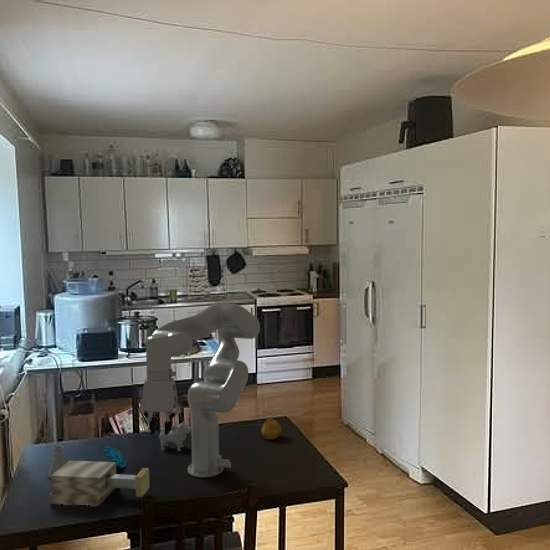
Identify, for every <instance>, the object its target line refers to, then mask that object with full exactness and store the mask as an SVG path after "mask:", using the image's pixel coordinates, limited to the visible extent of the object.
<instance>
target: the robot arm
mask: <svg viewBox="0 0 550 550" xmlns="http://www.w3.org/2000/svg"><path fill="white" fill-rule="evenodd" d="M260 330H261V325H260V321H259V319H258V318H257V316H255V315H254V314H253V313H251V312H250V311H249V310H248V309H246V308H245V307H243V306H242V305H240V304H238V303H225V302H223V303H222V302H217V303H213V304H211V305H210V306H209V305H208V307H206V308H205V309H203V310H201V311H200V312H198V313H196V314H194V315H192V316H187V317H185V318H181V319H177V320H173V321H171V322H168V323H165V324H164V325H162V326H160V327H158V328H157V329H156V330H154V331H153V332H152V334H151V335H150V336H149V335H148V337H147V338H146V340H145V352H146V353H145V355H146V359H145V360H146V363H145V364H146V378H145V379H144V383H143V388H142V389H143V390H142V402H141V404H140V406H139V408H137V410H138V411H137V412H139V414H141V415H143V416H144V417H145V418H146V419H147V421H148V424H149V425H148V427H149V431H150V434H151V435H153V434H154V433H156V432H157V419H156V418H155V417H156V415H155V414H156V413H164V417H165V421H164V425H163V426H164V428H163V429H165V435H167V434H168V433H169V432H170V431H172V429H171V427H172V420H173V419H174V417H176V416H177V415H179V414H181V413H182V408H181V406H180V404H179V402H178V393H177V384H176V381H175V378H174V377H175V376H177V372H176V371H174V370H173V369H172V357H175V356H176V357H178V356H184V355H186V354H188V353H189V352H190V351H191V350H192V349H193V344H194V341H193V340H199V339H204V338H205V339H206V338H207V337H208V336H209V335H212V334H213V333H214V332H216V331H217V338H218V347H217V349H216V350H215V353H214V354H213V356H212V358H211V360H210V361H209V363H208V365H207V367H206V369H205V371H204V378H205V380H206V381H203V380H201V381H196V382H193V383H192V384H191V385H190V387H188V390H187V402H188V406H189V407H188V408H189V411H190V425H191V426H190V427H191V431H190V433H191V437H190V438H191V463H190V464H189V465H188V467H187V474H189V475H191V476H192V477H196V478H211V477H216V476H218V475H220V474H221V473H222V472H224V468H228V469H230V468H232V462H231V461H230V460H229V459H223V458H222V454H220V446H219V445H220V438H219V435H220V434H219V429H220V426H219V418H218V415H217V413H221V414H227V413H229V412H231V411H232V410H233V409H234V407H236V404H237V402H238V400H239V399H240V396H241V395H242V393H243V390H244V389H245V387H246V384H247V383H248V380H249V366H248V365H247V364H246V363H245V362H244V361H242V360H238V359H239V357H240V349H239V346H238V344H237V342H236V339H247V340H249V339H250V340H252V339H255V338H257V336H258V335H259V334H260Z"/></svg>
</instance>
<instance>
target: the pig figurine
mask: <svg viewBox="0 0 550 550" xmlns="http://www.w3.org/2000/svg"><path fill="white" fill-rule="evenodd" d="M190 433H191V426H189V425H187V424H186V421H182V422H181V423H179V424H178V425H177V426H176V425H175V424H173V425H171V431H170V432H169V433H168V434H167V435H165V429H164V428H163V429H161V430H160V433H159V435H158V438H159V440H160V449H161V451H165V450H166V449H165V446H167V447H169V445H168V442H170V443H174V444H175V445H176V448H177V452H182V450H181V448H184V447H185V446H184V443H183V442H184V441H186V439H187V438H188V437H187V435H188V434H190Z"/></svg>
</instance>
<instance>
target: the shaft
mask: <svg viewBox="0 0 550 550" xmlns="http://www.w3.org/2000/svg"><path fill="white" fill-rule="evenodd" d="M106 487H110V488H116V489H131V490H132V489H133V490H134V489H135V497H137V498H143V496H144V495H145V494H146V493H147V492H148V491H149V489H150V468H149V467H142V468H141V470H140V471H139V472H138V473H137V475H136V474H119V473H118V474H117V473H116V474H108V475H107V476H106Z"/></svg>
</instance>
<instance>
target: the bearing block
mask: <svg viewBox="0 0 550 550" xmlns="http://www.w3.org/2000/svg"><path fill="white" fill-rule="evenodd" d="M108 474H117V466H116V462H109V461H95V460H94V461H90V460H89V461H88V460H69V461H67V462H66V464H65V465H64V466H62V467H61V468H60V469H59V470H57V471H56V472H55V473H54V474H52V475H51V479H50V489H51V490H50V493H49V505H61V504H63V505H62V506H78V505H87V506H86V507H97V506H99V505H100V504H101V503H102V502H103V501H104V500H105V498H106V497H107V496H108V495H109V494H110V493H111V492H112V491H113V490H114V489H115V488H110V487H106V476H107V475H108ZM115 490H116V489H115ZM115 490H114V491H115ZM114 491H113V492H114ZM113 492H112V493H113ZM112 493H111V494H112ZM111 494H110V495H111ZM110 495H109V496H110ZM109 496H108V497H109ZM108 497H107V498H108ZM107 498H106V499H107ZM105 501H106V500H105ZM105 501H104V502H105ZM104 502H103V503H104ZM103 503H102V504H103ZM102 504H101V505H102ZM88 505H90V506H88ZM101 505H100V506H101ZM100 506H99V507H100Z"/></svg>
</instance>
